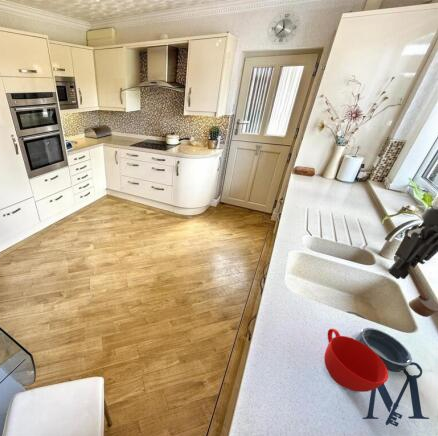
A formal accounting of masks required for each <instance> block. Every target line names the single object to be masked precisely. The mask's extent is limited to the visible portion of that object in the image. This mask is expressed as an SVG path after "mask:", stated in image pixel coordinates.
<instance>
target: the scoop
mask: <svg viewBox="0 0 438 436" xmlns="http://www.w3.org/2000/svg"><path fill="white" fill-rule="evenodd" d="M407 270H408V272H409V274H408V275H409V276H410V278H411V280H412V282H413V284H414V285H415V288H416V290H417V291H418V293H419V295H418V296H417V297H415V298H413V299H411V300H410V301H408V307H409V309H411V310H412V311H413V313H415V314H417V315H418V316H421V317H423V318H429V317H431V316H433V315H434V314H437V313H438V302H437V301H436V300H434V299H433V298H432V297H430V296H429V294H428V293H427V290H426V289H425V287H424V284H423V283H422V281H421V278H420V277H419V275H418V274H417V272H416V270H415V267H414V268H413V266H412V264H411V265H410V266H409V267H408V269H407Z"/></svg>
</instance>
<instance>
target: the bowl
mask: <svg viewBox="0 0 438 436" xmlns="http://www.w3.org/2000/svg"><path fill="white" fill-rule="evenodd" d="M355 340H357V341H359V342H361V343H363V344H364V345H366V346H367V347H369V348H370V349H371V350H372V351H374V352H375V353H376V354H377V355H378V356H379V357H380V359H381V360H382V361H383V363H384V364H385V366H386V368H387V371H388V372H392V373H401V372H403V371H404V370H405V369H407V368H408V367H409V366H410V365H412V361H413V358H412V355H411V353H410V352H409V350H408V349H407V347H406V346H405V345H404V344H402V342H401V341H399V340H398V339H396V337H394V336H392V335H391V334H389V333H387V332H386V331H383V330H380V329H378V328H373V327H365V328H363V329H362V330H361V331H360V332H359V334H358V335H357V336H356V338H355Z"/></svg>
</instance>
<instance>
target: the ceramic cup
mask: <svg viewBox="0 0 438 436" xmlns="http://www.w3.org/2000/svg"><path fill="white" fill-rule="evenodd" d="M333 334H334V337H333ZM327 341H328V344H327V346H326V348H325V352H324V357H323V359H324V360H323V361H324V366H325V369H326V371H327V373H328V374H329V376H330V378H331V379H332V380H333V381H334V382H335V383H336V384H337V385H339V386H340V387H342V388H345V389H347V390H350V391H353V392H358V393H367V392H370V391H374V390H377V389H378V388H379V387H381V386H383V385H384V384H385V383H386V382H387V381H388V379H389V371H388V370H387V368H386V366H385V364H384V363H383V361H382V360H381V359H380V357H379V356H378V355H377V354H376V353H375V352H374V351H372V350H371V349H370V348H369V347H367V346H366V345H364V344H363V343H361V342H359V341H357V340H356V338H353V337H350V336H345V335H341V333H340V332H339V331H338V330H337V329H335V328H329V329H328V331H327Z"/></svg>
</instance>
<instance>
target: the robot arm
mask: <svg viewBox="0 0 438 436" xmlns="http://www.w3.org/2000/svg"><path fill="white" fill-rule="evenodd" d="M421 219H422V222H421V223H420V224H419V225H418V226H416V228H414V229H410V228H407V229H405V231H404V237H402V240H401V242H400V243H399V245H398V248H397V249H396V251H395V253H394V256H395V257H397V258H398V260H397V261H396V262H395V264H394V265H393V267H392V268H391V269H390V270H389V272H388V274H389V275H391V276H392V277H394V278H395V279H396V280H400V279H402V280H406V279H407V278H408V276H409V275H410V274H409V272H408V270H407V269H408V267H409V266H410V265H411V264H412V266H413V268H414V269H415V268H416V266H417V265H418V264H421V265H424V264H426V262H428V261H430V260H431V259H432V258H433V257H434V256H435V255H436V254H437V253H438V193H437V195H436V196H435V197H434V199H433V200H432V201H431V205H428V206H427V208H426V209H425V210H424V212H423V213H422V214H421Z"/></svg>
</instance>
